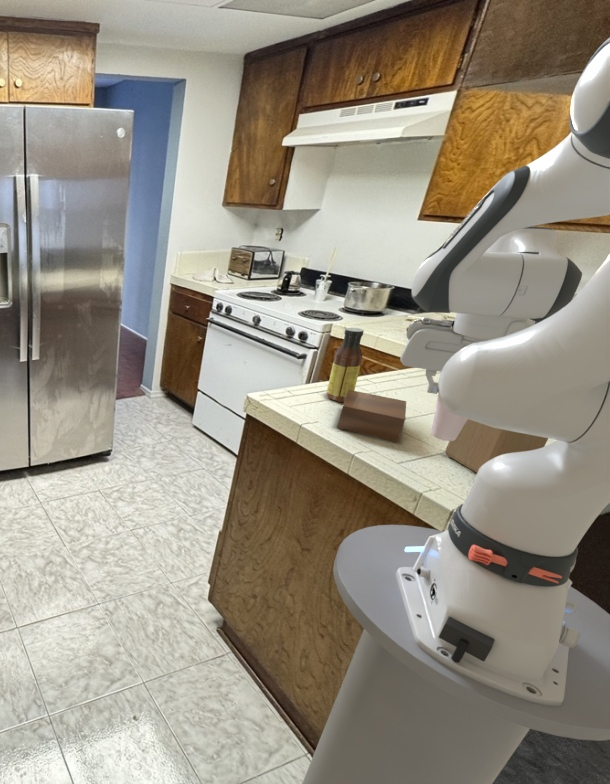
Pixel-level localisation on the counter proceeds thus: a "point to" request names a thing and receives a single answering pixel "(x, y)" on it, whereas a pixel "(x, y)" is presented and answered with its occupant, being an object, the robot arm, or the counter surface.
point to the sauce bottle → (345, 366)
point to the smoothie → (446, 422)
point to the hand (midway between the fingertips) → (458, 397)
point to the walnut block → (373, 415)
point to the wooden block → (488, 444)
